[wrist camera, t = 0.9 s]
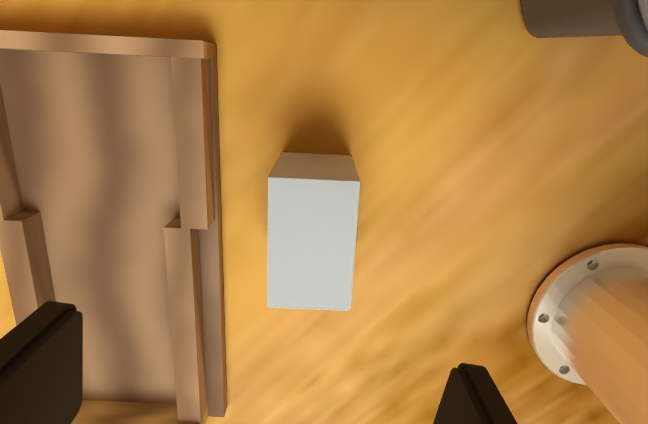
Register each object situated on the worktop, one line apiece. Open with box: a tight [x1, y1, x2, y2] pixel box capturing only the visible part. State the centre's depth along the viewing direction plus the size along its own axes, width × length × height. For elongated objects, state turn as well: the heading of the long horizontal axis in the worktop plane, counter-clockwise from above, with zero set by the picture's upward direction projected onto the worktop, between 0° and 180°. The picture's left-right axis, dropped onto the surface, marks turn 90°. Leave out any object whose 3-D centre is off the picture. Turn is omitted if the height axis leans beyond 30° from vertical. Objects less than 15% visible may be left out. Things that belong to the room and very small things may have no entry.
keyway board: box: [0, 30, 227, 424], centre depth 30 cm, size 16×30×4 cm, turn 177°
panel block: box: [267, 152, 360, 311], centre depth 28 cm, size 5×8×8 cm, turn 177°
